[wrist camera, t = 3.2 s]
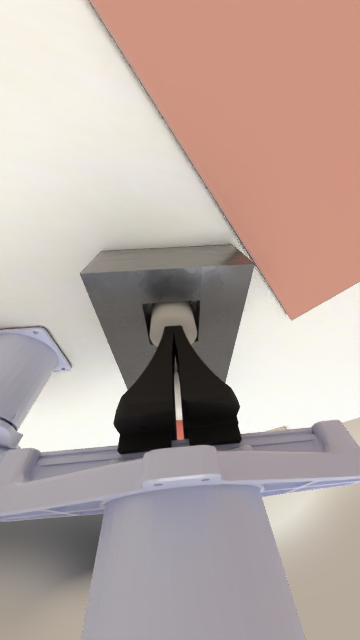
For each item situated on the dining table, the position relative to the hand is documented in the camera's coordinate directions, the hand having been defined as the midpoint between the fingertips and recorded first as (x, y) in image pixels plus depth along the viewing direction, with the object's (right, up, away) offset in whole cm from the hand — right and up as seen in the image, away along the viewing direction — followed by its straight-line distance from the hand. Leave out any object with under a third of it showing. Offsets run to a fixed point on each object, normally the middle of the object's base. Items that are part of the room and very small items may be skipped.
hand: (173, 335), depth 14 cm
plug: (0, +3, +4) cm, 5 cm away
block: (0, -3, +11) cm, 11 cm away
